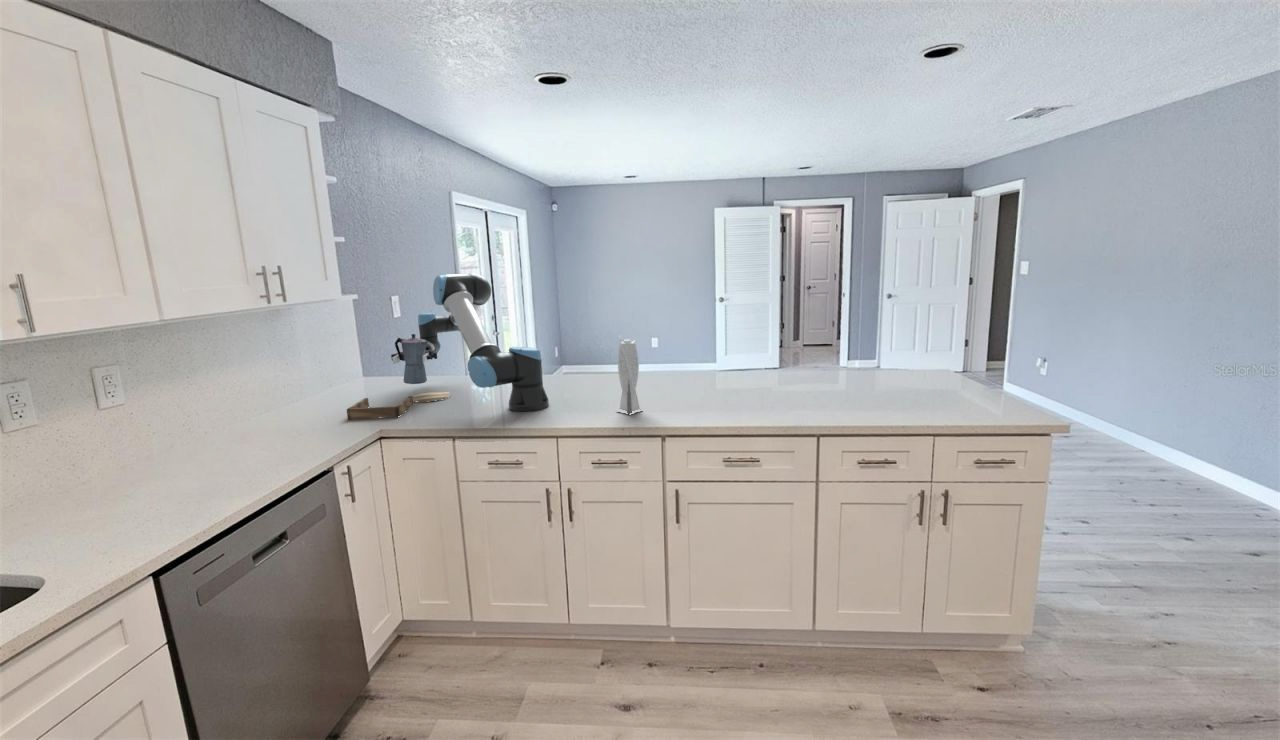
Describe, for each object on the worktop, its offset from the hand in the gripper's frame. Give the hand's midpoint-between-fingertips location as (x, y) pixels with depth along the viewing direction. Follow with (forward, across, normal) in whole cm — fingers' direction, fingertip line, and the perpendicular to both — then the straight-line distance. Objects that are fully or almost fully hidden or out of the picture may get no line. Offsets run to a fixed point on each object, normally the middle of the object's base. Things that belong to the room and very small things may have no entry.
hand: (408, 360), depth 226 cm
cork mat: (-6, -5, -18) cm, 19 cm away
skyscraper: (+30, -86, -18) cm, 93 cm away
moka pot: (-4, 0, -10) cm, 11 cm away
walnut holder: (+14, +8, -18) cm, 24 cm away
